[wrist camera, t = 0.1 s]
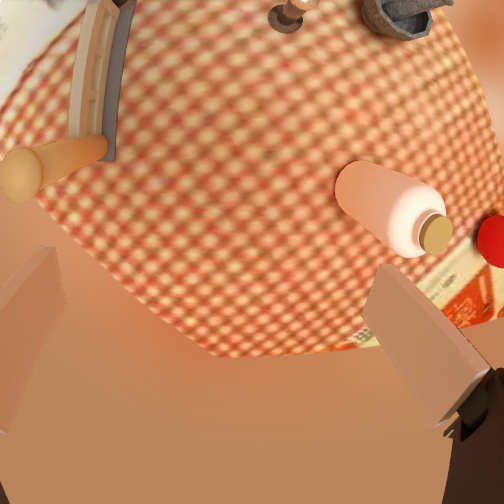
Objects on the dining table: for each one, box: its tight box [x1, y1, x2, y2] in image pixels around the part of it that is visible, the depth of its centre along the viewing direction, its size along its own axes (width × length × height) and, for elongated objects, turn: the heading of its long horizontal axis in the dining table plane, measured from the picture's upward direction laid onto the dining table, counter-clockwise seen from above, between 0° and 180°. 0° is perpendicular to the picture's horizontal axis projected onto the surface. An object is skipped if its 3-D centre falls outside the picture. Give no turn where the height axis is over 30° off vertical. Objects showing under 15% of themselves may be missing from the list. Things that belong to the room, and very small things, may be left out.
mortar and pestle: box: [360, 0, 453, 41], centre depth 23 cm, size 11×9×12 cm
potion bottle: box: [335, 160, 453, 258], centre depth 32 cm, size 8×8×18 cm
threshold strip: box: [97, 1, 136, 161], centre depth 28 cm, size 24×5×1 cm, turn 173°
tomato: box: [477, 215, 504, 268], centre depth 43 cm, size 10×11×11 cm
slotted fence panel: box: [0, 0, 120, 204], centre depth 20 cm, size 21×4×18 cm, turn 173°
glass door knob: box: [268, 0, 319, 33], centre depth 24 cm, size 4×4×9 cm
